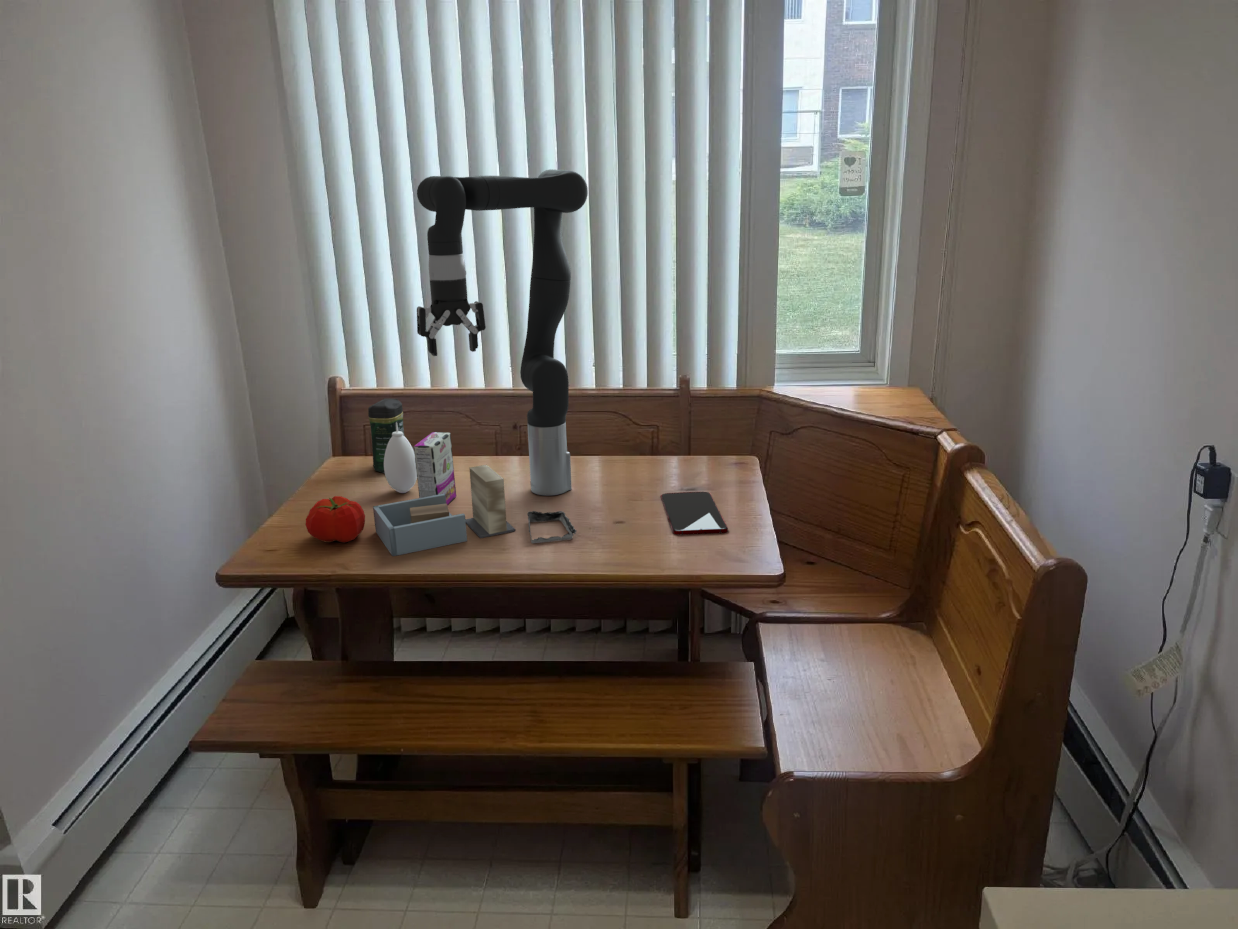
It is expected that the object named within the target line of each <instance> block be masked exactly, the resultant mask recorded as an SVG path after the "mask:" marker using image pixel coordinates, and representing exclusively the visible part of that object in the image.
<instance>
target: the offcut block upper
mask: <svg viewBox="0 0 1238 929" xmlns="http://www.w3.org/2000/svg"><path fill="white" fill-rule="evenodd" d="M449 512H450V510H449V507H448V505H447V504H439V505H430V506H421V507H412V508H410V515H411V523H416V522H421V521H427V520H432V519H437V518H442V517H447V516H449Z"/></svg>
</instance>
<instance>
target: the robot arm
mask: <svg viewBox="0 0 1238 929" xmlns="http://www.w3.org/2000/svg"><path fill="white" fill-rule="evenodd" d="M588 189H589V188H588V184H587V182H586V179H584V177H583V176H582V175H581V174H580V173H578V172H575V171H573V170H569V169H551V168H550V169H545V170H543V171H542V172H540V174H538V176H537V177H526V176H525V177H522V176H511V175H510V176H508V175H472V176H471V175H469V176H463V177H462V176H461V177H460V176H459V177H458V176H451V175H431V176H428V177H425V178H424V179H422V181H420V183H419V185H418V186H417V189H416V198H417V200H418V202H419V203H420V206H422V207H423V208H424V209H425V210H428V211H430V212H434V213H435V218H434V224H433V225H431V226H429V227H428V229H427V231H426V232H427V233H426V234H427V235H426V237H427V238H426V239H427V249H428V275H429V287H430V288H429V290H430V291H429V292H430V300H431V301H430V302H431V304H430V306H429V307H428V306H427V307H426V306H423V307H422V306H417V307H416V327H417V328H416V332H417V333H416V334H417V335H419V336H421V337H423V338H426V340H427V342H426V343H427V352H429V354H431V356H433V357H438V349H437V346H438V345H437V338H436V336H437V333H438V332H439V331H440V330H441V328H442V327H443V326H444V327H450V326H452V325H454V326H460V325H461V324H462V325H463V326H464V327H465V328H466V330H468V332H469V333H468V344H469V351H470V352H472V353H473V352H476V351H477V349H478V348H479V340H478V339H479V338H478V334H479V333H480V332H482V331H485V330H486V327H487V326H486V321H485V320H486V319H485V312H484V304H483V303H482V302H480V301H478V300H476V301H474V302H471V303H469V301H468V287H467V285H468V284H467V270H466V263H465V259H464V258H465V257H464V250H463V249H464V248H463V237H462V236H463V235H462V232H463V227H464V221H465V214H466V210H468V211H478V212H479V211H499V210H513V209H524V208H525V209H527V208H529V209H531V208H533V221H534V222H533V224H534V225H533V228H534V229H533V244H532V245H533V246H532V248H533V249H532V264H531V272H530V283H529V298H528V299H529V300H528V311H527V328H526V337H525V344H524V347H523V353H522V359H521V364H520V371H519V372H520V379H521V383H522V385H523V386H524V387H525V388H526V389H527V390H528V391H531V392H532V407H531V409H529V410H528V411H527V414H526V417H527V418H526V419H527V420H526V422H527V435H528V436H527V438H528V439H527V440H528V456H529V457H528V458H529V477H530V481H529V482H530V492H531V493H533V494H535V495H538V496H557V495H558V496H559V495H562V494H564V493H567V491H571V490H572V487H573V486H572V467H571V466H572V464H571V453H570V452H569V451H568V446H567V424H566V422H567V421H566V420H567V419H566V418H567V414H568V410H569V400H570V399H569V397H570V396H569V391H570V390H569V386H570V385H569V373H568V370H567V368H566V365H564V363H563V362H561V360H558V359H556V358H554V357H555V356H554V355H555V354H554V352H555V338H556V333H557V330H558V328H559V325H560V323H561V321H562V319H563V316H564V314H565V312H566V309H567V308H568V307H567V306H568V303H569V299H570V290H571V278H572V277H571V274H572V272H571V266H570V263H569V258H568V255H567V253H566V250H565V246H564V244H563V239H562V219H563V218H562V217H563V213H565V214H568V213H569V214H570V213H575V212H577V211H578V210H580V209H581V208H582V207H583V206H584V205H585V203H586V202H587V199H588V196H589V195H588V194H589V192H588V191H589V190H588ZM470 310H471V311H472V313H474V314H475V316H474V317H475V325H474V324H473V322H472V321H471V320H470V319H469V318H468V316H467V315H468V313H469V312H470ZM429 314H432V316H433V317H434V318H433V320H432V321H431V323H430V326H429V327H428V329H427V322H426V321H427V318H428V317H429Z"/></svg>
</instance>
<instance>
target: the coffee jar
mask: <svg viewBox="0 0 1238 929" xmlns="http://www.w3.org/2000/svg"><path fill="white" fill-rule="evenodd" d="M367 410H368V411H367V414H368V416H367V417H368V420H369V426H370V435H371V446H372V448H371V450H372V451H371V452H372V466H373V470H374V471H375V472H379V473H382V474H385V472H384V456H385V451H386V448H387V445H388V442H389V440H390V439H391V437H392V433H393V432H395V431H396V422H397V425H398V431H401V432H403V436H405V429H404V410H403V403H402V401H400V400H399V399H398V398H383V399H382V400H380V401H379V400H378V401H377V402H376V403H374V404H372V405H370V406H369V407H368V408H367Z"/></svg>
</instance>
